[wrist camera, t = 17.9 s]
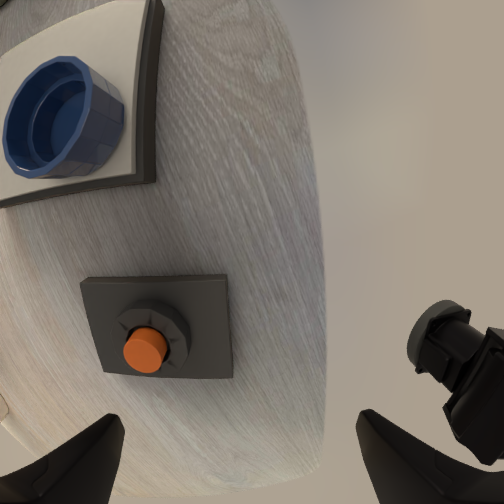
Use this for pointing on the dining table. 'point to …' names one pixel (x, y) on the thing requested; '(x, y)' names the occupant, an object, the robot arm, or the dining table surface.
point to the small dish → (62, 121)
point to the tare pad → (163, 322)
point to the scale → (112, 69)
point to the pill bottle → (3, 409)
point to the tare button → (145, 350)
